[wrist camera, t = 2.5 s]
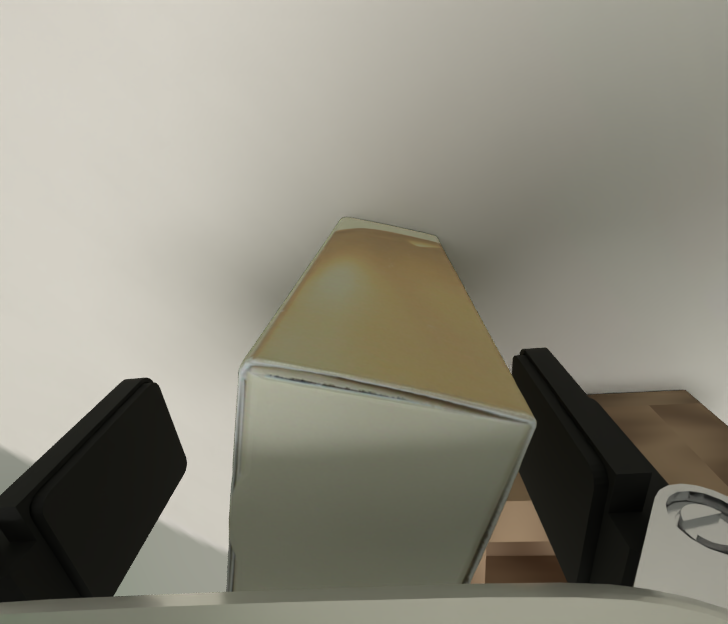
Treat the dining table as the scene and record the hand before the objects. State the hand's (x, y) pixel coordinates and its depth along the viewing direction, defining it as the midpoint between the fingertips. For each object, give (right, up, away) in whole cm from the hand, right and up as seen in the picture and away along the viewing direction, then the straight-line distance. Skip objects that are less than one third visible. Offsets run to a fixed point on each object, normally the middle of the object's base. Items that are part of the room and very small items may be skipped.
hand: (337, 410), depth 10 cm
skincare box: (+1, +4, +7) cm, 8 cm away
